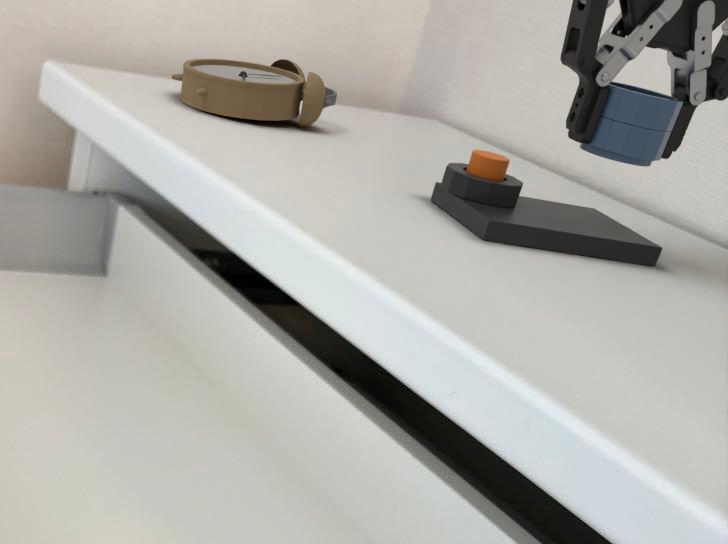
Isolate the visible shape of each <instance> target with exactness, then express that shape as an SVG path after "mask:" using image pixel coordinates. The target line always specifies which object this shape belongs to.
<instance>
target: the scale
mask: <svg viewBox="0 0 728 544" xmlns="http://www.w3.org/2000/svg"><path fill="white" fill-rule="evenodd" d="M468 164H469V163H464V162H448V164H447V165H446V166H445V170H444V173H443V176H442V179H441V182H439V181H436V182H435V183H434V187H433V191H432V193H431V197H430V201H431V202H433V203H434V204H435V205H436V206H438V207H439V208H440V209H441V210H443V211H444V212H446V213H447V214H448V215H449V216H451V217H452V218H454V219H455V220H456V221H458V222H459V223H460V224H462V225H463V226H465V227H466V228H467V229H468V230H470V232H472V233H474V234H475V235H476V236H478V237H479V238H481V239H482V240H483V241H489V242H495V243H502V244H508V245H513V246H514V245H515V246H519V247H520V246H521V247H527V248H534V249H539V250H540V249H541V250H546V251H553V252H560V253H566V254H573V255H579V256H586V257H592V258H598V259H599V258H600V259H605V260H610V261H616V262H617V261H618V262H625V263H631V264H637V265H644V266H649V267H656V265H657V263H658V260H659V258H660V256H661V253H662V251H663V247H662V246H660V244H657V243H655V242H653V241H652V240H650V239H649V238H647V237H645V236H643V235H641V234H639V233H638V232H636V231H634V230H633V229H630V228H629V227H628V226H626V225H624V224H622V223H621V222H619V221H617V220H616V219H614V218H612V217H610V216H608V215H607V214H605V213H604V212H602V211H600V210H598V209H597V208H595V207H594V208H593V207H589V206H583V205H582V206H581V205H575V204H571V203H566V202H565V203H563V202H558V201H553V200H552V201H551V200H546V199H541V198H540V199H539V198H535V197H529V196H523V195H521V191H522V189H523V186H524V182H523V181H522V180H520V179H518V178H516V177H515V176H513V175H509V174H507V173H506V174H505V177H504V180H503V181H498V180H492V179H487V178H483V177H479V176H476V175H474V174H471V173H468V172H466V170H467V167H468Z"/></svg>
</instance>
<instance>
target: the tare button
mask: <svg viewBox="0 0 728 544" xmlns="http://www.w3.org/2000/svg"><path fill="white" fill-rule="evenodd" d="M510 162H511V160H510V158H509V157H507V156H504V155H502V154H499V153H495V152H492V151H489V150H488V151H487V150H482V149H473V150H472V152H471V155H470V158H469V161H468V163H467V164H468V167H467V170H466V172H468V173H471V174H474V175H476V176H479V177H483V178H487V179H492V180H498V181H503V180H504V177H505V174H507V170H508V168H509V166H510Z"/></svg>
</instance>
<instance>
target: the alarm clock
mask: <svg viewBox="0 0 728 544" xmlns="http://www.w3.org/2000/svg"><path fill="white" fill-rule="evenodd" d="M182 67H183V70H182V73H173V74H171V80H175V81H178V82H181V88H180V94H179V99H180V101H181V103H183V104H185V105H186V106H189V107H190V108H193V109H197V110H200V111H202V112H206V113H211V114H216V115H219V116H223V117H224V116H225V117H230V118H237V119H245V120H252V121H253V120H254V121H271V122H272V121H274V122H275V121H277V122H279V121H287V120H294V119H296V118H299V127H308V126H312V125H313V124H314V123H316V122H317V121H318V120H319V118H320V117H321V114H322V112H323V110H324V109H325V108H329V107H333V106H334V105H336V104H337V103H336V102H337V97H338V92H337V91H336V90H335V89H333V88H330V87H327V86H325V83H324V80H323V79H322V78H321V76H320V75H319V74H317V73H315V72H312V71H308V73H307V77H305V74H304V71H303V70H302V68H301V67H300V66H299V65H298V64H297V63H296V62H294V61H292V60H290V59H281V58H280V59H277V60H275V61H273V63H271V65H266V64H261V63H256V62H250V61H244V60H243V61H241V60H232V59H225V58H224V59H222V58H193V59H188V60H186V61H184V62H183V64H182ZM301 102H302V103H301ZM300 106H301V109H300ZM299 115H300V116H299Z"/></svg>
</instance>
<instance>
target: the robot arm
mask: <svg viewBox="0 0 728 544" xmlns="http://www.w3.org/2000/svg"><path fill="white" fill-rule="evenodd" d="M614 2H615V0H572V3H571V8H570V10H569V11H570V12H569V17H568V21H567V25H566V30H565V34H564V39H563V43H562V48H561V51H560V58H559V59H560V62H561V65H563V66H565V67H567V68H569V69H570V70H571V71H573V72H574V73H575V74H576V75H577V77H578V84H577V85H578V86H577V88H576V91H575V94H574V96H573V99H572V102H571V106H570V107H569V112H568V113H567V116H566V119H565V129H567V130H568V131H567V137H568V139H569V140H572V141H574V142H576V143H579V144H580V143H584V144H589V143H590V142H591V140H592V138H593V135H594V132H595V130H596V127H597V124H598V122H599V119H600V116H601V114H602V111H603V108H604V105H605V103H606V100H607V97H608V95H609V92H610V90H609V89H607V88H605V87H606V86H607V85H609V84H610V83H611V82H612V81H613V80H614V79H616V77H617V76H618V74H620V72H621V71H622V70H623V68H624V67H625V66H626V65H627V63H629V62H630V61H633V60H635V59H636V58H637V57H638V56H639V55H640V54H641V53H642V51H643V50H644V49H645V48H650V49H654V50H655V49H658V50H659V49H660V50H662V51H663V50H664V51H666V60H667V64H668V66H669V68H670V96H672V97H675V98H678V99H680V100H682V101H683V105H682V107H681V109H680V112H679V114H678V117H677V119H676V122H675V124H674V127H673V129H672V131H671V134H670V137H669V139H668V142H667V144H666V146H665V149H664V151H663V154H662V156H661V159H664V160H668V159H669V158H671V156H672V154H673V152H674V153H675V152H677V151H678V149H679V148H680V146H681V145H682V143H683V141H684V138H685V135H686V134H687V130H688V128H689V126H690V122H691V121H692V119H693V116H694V113H695V111H696V109H697V108H698V106H699V105H701V104H702V103H706V102H710V101H714V100H715V101H719V102H721V101H725V100H726V99H728V0H618V3H619V8H620V13H619V14H618V15H617V16H616V17H615V19H614V20H613V21H612V23H611V24H610V25H609V26H608V28H607V29H606V30H605V31H604V32H603V33H602V30H603V27H604V21H605V17H606V13H607V9H608V8H610V7H611V6H612V5H613V4H614ZM719 26H721V27H720V28H721V31H722V34H721V36H720V38H719V40H718V42H717V44H716V45H715V48H714V50H713V32H714V31H715V30H716V29H717V28H718V27H719ZM601 34H602V35H601Z"/></svg>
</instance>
